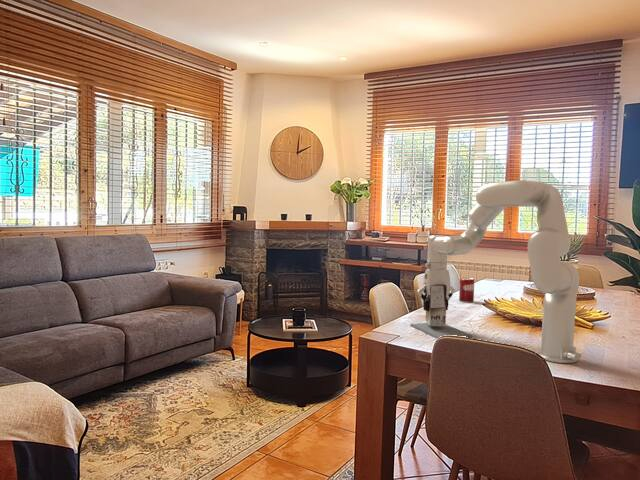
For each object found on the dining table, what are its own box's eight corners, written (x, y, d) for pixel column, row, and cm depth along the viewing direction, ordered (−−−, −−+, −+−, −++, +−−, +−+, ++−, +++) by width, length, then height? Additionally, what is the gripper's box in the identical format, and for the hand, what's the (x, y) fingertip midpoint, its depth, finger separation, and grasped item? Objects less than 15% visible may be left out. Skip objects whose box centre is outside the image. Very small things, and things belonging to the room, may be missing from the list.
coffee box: (446, 326, 195) (447, 285, 194) (429, 326, 195) (430, 285, 194) (440, 321, 204) (442, 282, 203) (425, 321, 204) (426, 281, 203)
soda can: (456, 300, 261) (457, 277, 260) (468, 299, 263) (469, 277, 262) (464, 303, 254) (465, 279, 253) (476, 302, 256) (477, 279, 256)
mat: (472, 337, 188) (472, 335, 187) (439, 339, 183) (439, 337, 183) (440, 323, 208) (440, 321, 208) (410, 325, 204) (410, 323, 204)
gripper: (422, 267, 191) (421, 313, 193) (461, 266, 197) (460, 310, 198) (412, 265, 199) (411, 309, 200) (450, 264, 204) (449, 307, 205)
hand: (435, 309), depth 199 cm, fingers closed on coffee box, 7 cm apart
